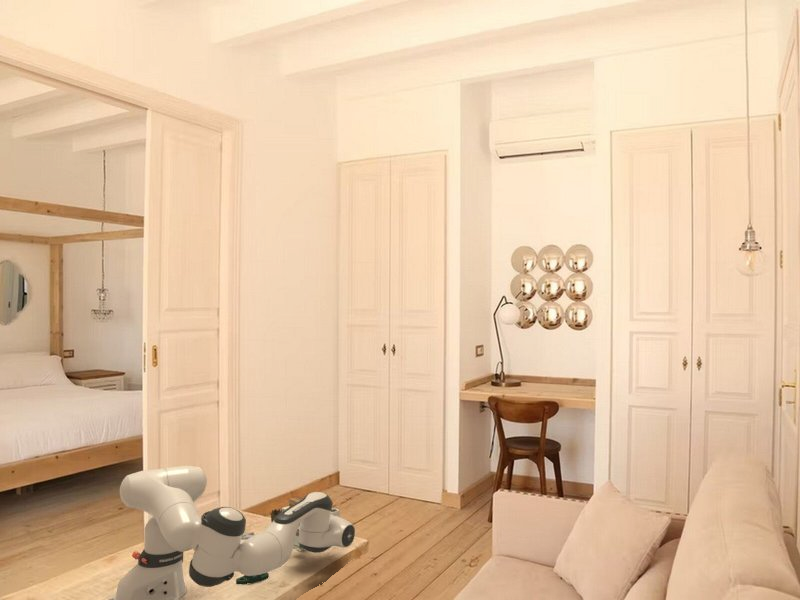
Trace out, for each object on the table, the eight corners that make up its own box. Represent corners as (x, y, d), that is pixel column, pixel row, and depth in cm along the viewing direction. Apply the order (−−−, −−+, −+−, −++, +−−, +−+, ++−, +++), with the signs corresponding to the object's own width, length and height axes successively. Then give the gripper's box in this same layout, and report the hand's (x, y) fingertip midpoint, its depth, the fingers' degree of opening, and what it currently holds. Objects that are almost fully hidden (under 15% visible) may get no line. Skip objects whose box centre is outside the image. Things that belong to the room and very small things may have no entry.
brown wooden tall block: (298, 536, 229) (298, 502, 229) (288, 532, 233) (288, 498, 233) (307, 533, 232) (308, 500, 232) (298, 529, 236) (298, 496, 236)
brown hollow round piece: (285, 535, 253) (285, 515, 253) (267, 534, 254) (267, 513, 255) (291, 528, 261) (291, 509, 261) (274, 527, 262) (274, 507, 262)
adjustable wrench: (195, 552, 236) (195, 547, 236) (190, 547, 241) (190, 542, 241) (261, 539, 249) (261, 534, 249) (255, 534, 255) (255, 530, 255)
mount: (238, 586, 208) (238, 571, 208) (234, 581, 211) (234, 566, 211) (270, 579, 213) (271, 564, 213) (265, 574, 217) (266, 559, 217)
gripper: (295, 540, 216) (272, 529, 226) (342, 526, 230) (319, 516, 240) (295, 521, 216) (272, 511, 226) (342, 508, 230) (319, 499, 240)
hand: (296, 514), depth 233 cm, fingers closed on brown wooden tall block, 4 cm apart
